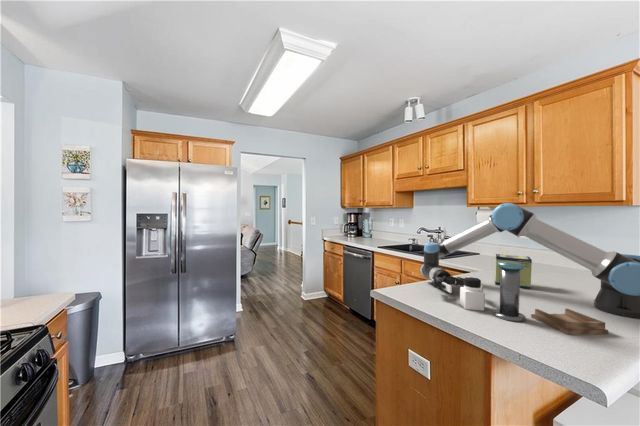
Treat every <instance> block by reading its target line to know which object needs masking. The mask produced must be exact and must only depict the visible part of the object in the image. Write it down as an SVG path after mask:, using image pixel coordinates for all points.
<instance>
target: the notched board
mask: <svg viewBox="0 0 640 426" xmlns="http://www.w3.org/2000/svg"><path fill="white" fill-rule="evenodd" d="M530 317H531V318H532V319H534V320H536V321H538V322H541V323H542V324H545V325H547V326H549V327H552V328H554V329H555V330H557V331H559V332H561V333H564V334H566V335H569V336H570V335H571V336H572V335H576V336H578V335H608V334H609V330H608V329H606V322H605V321H602V320H599V319H597V318H594V317H591V316H588V315H585V314H583V313H580V312H579V311H575V310H572V309H570V308H565V309H564V313H548V312H546V311H543V310H541V309H539V308H535V309H534V314H533V313H531V314H530Z"/></svg>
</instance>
